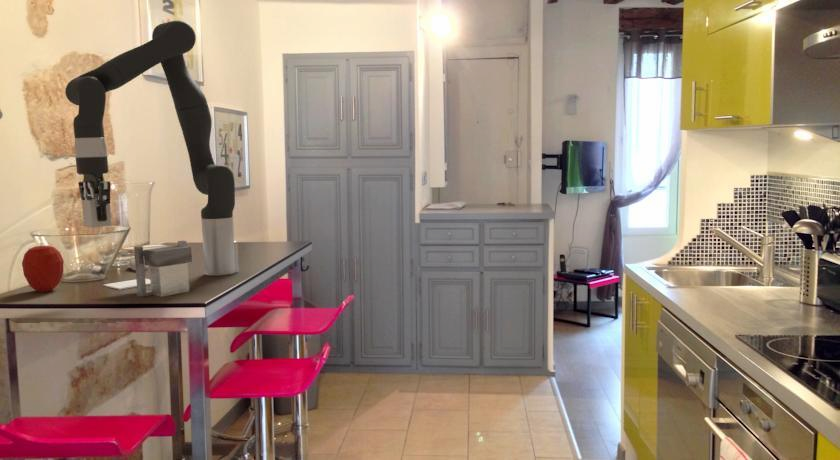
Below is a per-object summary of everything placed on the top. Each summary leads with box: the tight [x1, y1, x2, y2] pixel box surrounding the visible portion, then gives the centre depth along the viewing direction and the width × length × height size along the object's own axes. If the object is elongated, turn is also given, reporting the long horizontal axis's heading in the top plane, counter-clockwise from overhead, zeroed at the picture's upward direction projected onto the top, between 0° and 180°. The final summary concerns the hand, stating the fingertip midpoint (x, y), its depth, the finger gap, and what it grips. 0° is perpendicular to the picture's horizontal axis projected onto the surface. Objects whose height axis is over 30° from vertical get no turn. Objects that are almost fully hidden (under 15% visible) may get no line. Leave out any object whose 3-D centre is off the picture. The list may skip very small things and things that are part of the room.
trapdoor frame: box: [133, 240, 192, 298], centre depth 186 cm, size 8×14×13 cm, turn 138°
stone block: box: [81, 199, 113, 229], centre depth 184 cm, size 5×5×7 cm
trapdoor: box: [121, 243, 193, 267], centre depth 189 cm, size 19×11×4 cm, turn 48°
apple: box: [21, 244, 64, 293], centre depth 193 cm, size 10×10×14 cm
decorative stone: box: [128, 257, 150, 272], centre depth 229 cm, size 6×16×3 cm, turn 26°
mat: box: [102, 278, 151, 291], centre depth 200 cm, size 12×10×1 cm
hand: (97, 220), depth 184 cm, fingers closed on stone block, 5 cm apart
